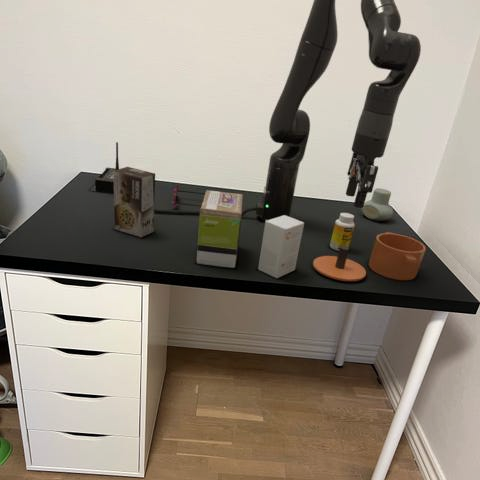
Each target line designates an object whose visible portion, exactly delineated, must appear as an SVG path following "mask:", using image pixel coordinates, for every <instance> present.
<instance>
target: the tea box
mask: <svg viewBox="0 0 480 480" xmlns="http://www.w3.org/2000/svg"><path fill="white" fill-rule="evenodd" d="M204 193H205V194H204V196H203V200H202V202H201V205H202V206H200V210H199V211H200V214H199V223H198V236H197V249H196V264H197V265H205V266H214V267H221V268H230V269H233V268H234V269H235V268H236V264H237V263H236V262H237V255H238V249H239V243H240V235H241V225H242V217H243V216H242V212H243V201H244V200H243V198H244V197H243V194H242V193H234V192H224V191H216V190H208V189H206V191H205V192H204ZM241 216H242V217H241Z"/></svg>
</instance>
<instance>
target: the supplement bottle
mask: <svg viewBox="0 0 480 480" xmlns="http://www.w3.org/2000/svg"><path fill="white" fill-rule="evenodd" d="M354 219H355V215H353V214H351V213H350V212H349V213H348V212H340V214H339V216H338V219H336V220H335V222H334V227H333V230H332V234H331V239H330V242H329V247H330V248H331V249H332V250H334V251H336V252H339V249H340V246H346V247H348V248H349V249H350V245H351V241H352V237H353V234H354V230H355V222H354Z"/></svg>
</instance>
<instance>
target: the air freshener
mask: <svg viewBox="0 0 480 480" xmlns="http://www.w3.org/2000/svg"><path fill="white" fill-rule="evenodd" d="M373 189H374V190H373V191H372V192H373V193H372V195H371V199H370V200H367V201H365V203H364V206H363V208H361V212H362V214H363V215H364V216H365V217H366V218H367V219H368V220H371V221H375V222H381V221H382V222H383V221H387V220H389V219H391V218H392V217H393V215H394V209H393V207H392V206H391V204H390V199H391V197H392V191H390V190H388V189H385V188H380V187H377V188H373Z"/></svg>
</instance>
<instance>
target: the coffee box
mask: <svg viewBox="0 0 480 480" xmlns="http://www.w3.org/2000/svg"><path fill="white" fill-rule="evenodd" d="M113 176H114V194H113V206H114V207H113V208H114V230H115V231H118V232H123V233H126V234H129V235H132V236H135V237H139V238H143V237H145V236H147V235H149V234H152V233H154V231H155V212H154V209H155V196H156V194H155V193H156V173H154V172H150V171H147V170H142V169H139V168H134V167H131V166H124V167H121V168H119V170H116V171H113Z"/></svg>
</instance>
